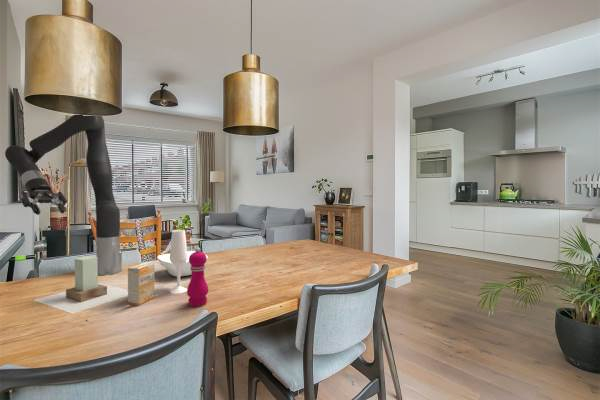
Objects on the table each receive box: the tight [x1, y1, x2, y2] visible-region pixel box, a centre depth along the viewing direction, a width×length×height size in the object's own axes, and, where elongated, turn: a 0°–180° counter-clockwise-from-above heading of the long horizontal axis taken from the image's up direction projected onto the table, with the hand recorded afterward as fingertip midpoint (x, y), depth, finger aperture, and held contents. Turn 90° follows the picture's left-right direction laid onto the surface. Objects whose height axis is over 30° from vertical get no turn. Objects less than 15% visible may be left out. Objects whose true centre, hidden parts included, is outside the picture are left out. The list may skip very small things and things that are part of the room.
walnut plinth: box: [65, 284, 107, 302], centre depth 111 cm, size 9×9×3 cm
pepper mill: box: [186, 247, 209, 307], centre depth 109 cm, size 7×7×20 cm
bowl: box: [157, 250, 209, 278], centre depth 144 cm, size 21×21×9 cm
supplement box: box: [127, 262, 155, 306], centre depth 110 cm, size 8×5×13 cm, turn 168°
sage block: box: [74, 255, 99, 291], centre depth 111 cm, size 5×5×11 cm
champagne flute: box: [169, 229, 188, 295], centre depth 121 cm, size 7×7×24 cm
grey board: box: [33, 282, 128, 315], centre depth 112 cm, size 22×24×1 cm
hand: (51, 212), depth 123 cm, fingers open, 8 cm apart
